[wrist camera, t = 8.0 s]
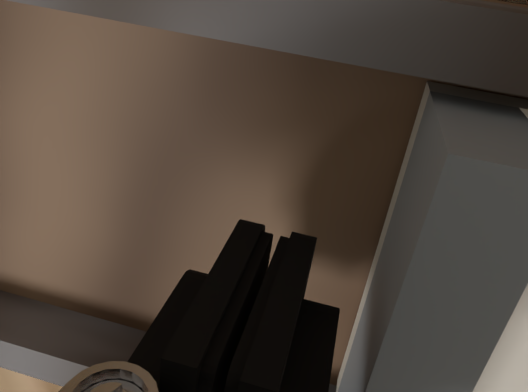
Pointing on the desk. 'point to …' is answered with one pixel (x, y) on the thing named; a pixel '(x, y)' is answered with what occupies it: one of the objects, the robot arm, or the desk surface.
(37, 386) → the desk surface
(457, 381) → the white sliding panel
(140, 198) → the rail board
